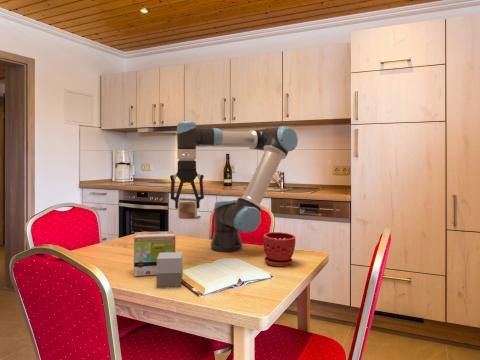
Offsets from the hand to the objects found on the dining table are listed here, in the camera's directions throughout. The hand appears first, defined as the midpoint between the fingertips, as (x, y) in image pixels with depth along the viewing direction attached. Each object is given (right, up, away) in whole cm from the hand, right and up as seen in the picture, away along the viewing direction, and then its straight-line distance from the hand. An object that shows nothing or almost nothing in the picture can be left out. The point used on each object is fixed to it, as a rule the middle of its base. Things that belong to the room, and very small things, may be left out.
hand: (187, 216), depth 150 cm
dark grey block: (-3, -21, -23) cm, 32 cm away
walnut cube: (0, 0, 0) cm, 0 cm away
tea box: (-11, -20, -10) cm, 25 cm away
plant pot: (+38, -20, +1) cm, 43 cm away
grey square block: (-3, -16, -24) cm, 29 cm away
